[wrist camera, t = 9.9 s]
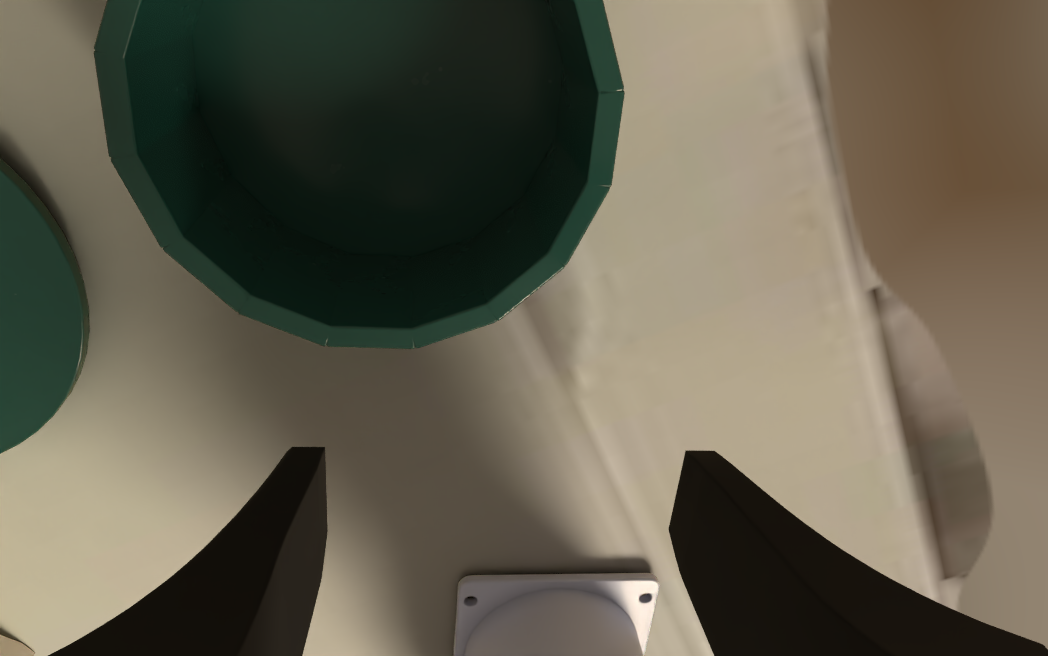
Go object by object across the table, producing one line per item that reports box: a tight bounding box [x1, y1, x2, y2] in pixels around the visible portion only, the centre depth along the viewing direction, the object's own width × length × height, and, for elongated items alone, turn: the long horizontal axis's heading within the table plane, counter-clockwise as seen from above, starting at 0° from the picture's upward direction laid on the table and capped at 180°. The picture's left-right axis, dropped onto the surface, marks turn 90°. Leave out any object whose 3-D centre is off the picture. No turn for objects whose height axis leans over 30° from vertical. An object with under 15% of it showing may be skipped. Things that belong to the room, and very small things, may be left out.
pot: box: [94, 0, 624, 349], centre depth 19 cm, size 11×11×6 cm
